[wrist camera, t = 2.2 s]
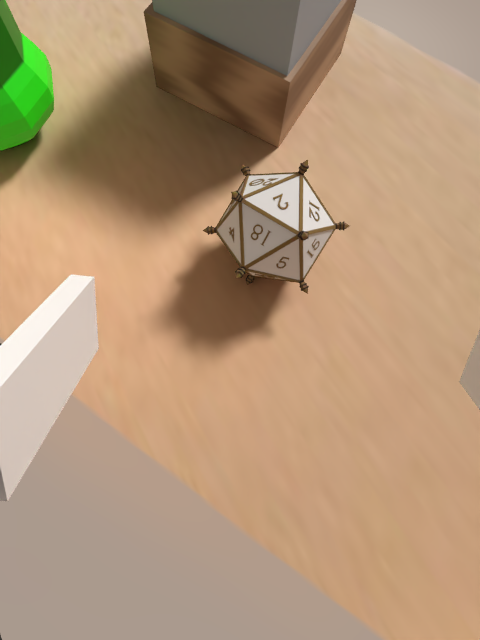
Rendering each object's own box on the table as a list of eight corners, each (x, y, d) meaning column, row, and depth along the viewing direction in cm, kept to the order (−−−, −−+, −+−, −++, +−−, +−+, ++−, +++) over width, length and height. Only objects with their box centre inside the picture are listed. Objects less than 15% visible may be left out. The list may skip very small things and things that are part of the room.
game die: (242, 280, 37) (156, 229, 29) (295, 192, 36) (222, 115, 29) (321, 330, 31) (242, 283, 24) (387, 226, 31) (327, 143, 23)
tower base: (339, 56, 40) (363, -24, 34) (277, 149, 37) (290, 82, 30) (226, 3, 42) (227, -84, 35) (157, 89, 38) (143, 11, 32)
